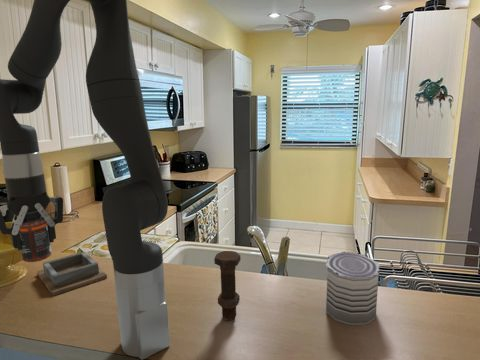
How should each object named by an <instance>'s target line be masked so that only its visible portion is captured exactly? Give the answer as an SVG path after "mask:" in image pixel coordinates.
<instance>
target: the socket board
mask: <svg viewBox="0 0 480 360" xmlns="http://www.w3.org/2000/svg"><path fill="white" fill-rule="evenodd" d="M42 266H43V269H41V270H37V273H36V274H37V276H38V277H39V279H40V280H41V281H42V283H43V284H44V286H45V287H46V288H47V290H48V291H49V293H50V294H51V295H52V296H53V297H54V296H56V295H61V294H63V293H66V292H69V291H72V290H75V289H78V288H81V287H84V286H86V285H90V284H92V283H96V282H99V281H102V280H105V279H108V274H107V273H106V272H104V271H103V270H102V269H101V268H100V267H99V263H98V262H97V261H96V260H95V259H93V257H91V256H90V255H89V254H88V253H87V252H86V251H81V252H78V253H74V254H70V255H67V256H62V257H59V258H55V259H51V260H48V261H44V262H42Z"/></svg>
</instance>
